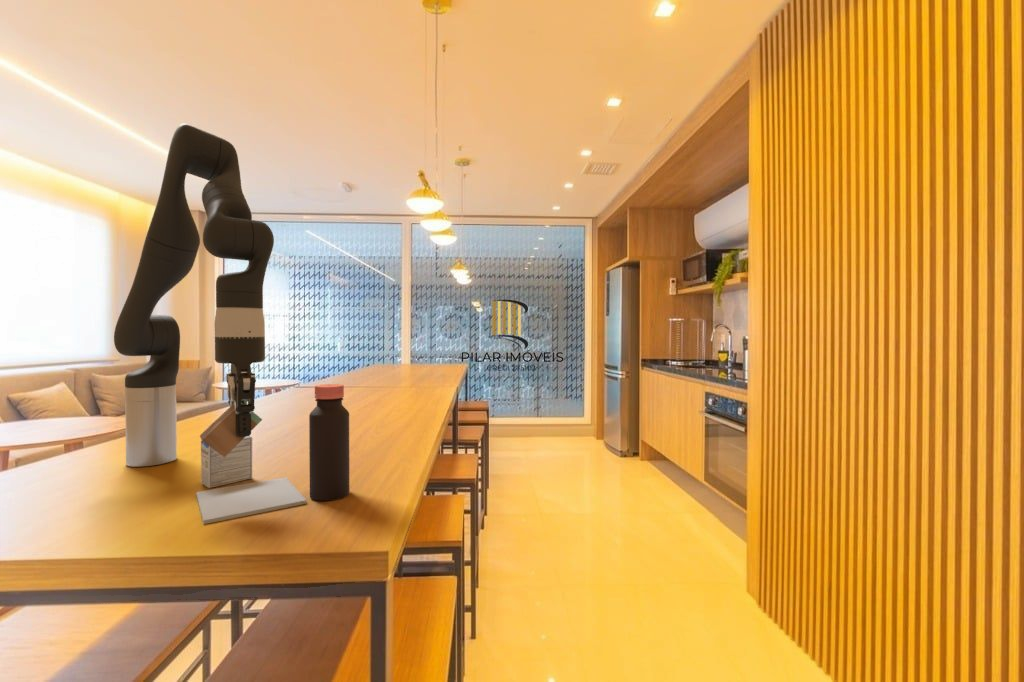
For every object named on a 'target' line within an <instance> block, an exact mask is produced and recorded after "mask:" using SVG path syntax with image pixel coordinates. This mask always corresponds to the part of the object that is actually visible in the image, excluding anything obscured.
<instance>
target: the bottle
mask: <svg viewBox="0 0 1024 682" xmlns="http://www.w3.org/2000/svg"><path fill="white" fill-rule="evenodd" d="M344 388H345V387H344V384H339V383H335V384H334V383H332V384H331V383H329V384H327V383H326V384H318V385H314V399H315V402H316V406H315V407H314V408H313V409H312V410H311V412H309V415H308V417H309V418H308V419H309V422H308V423H309V424H308V425H309V427H308V428H309V430H308V431H309V432H308V433H309V435H308V437H309V442H308V443H309V445H308V446H309V447H308V448H309V452H308V453H309V498H311V499H312V500H314V501H317V502H329V501H335V500H340V499H342V498H344V497H346V496H348V495H349V493H350V412H349V411H348V409H347V408H345V406H344V405H343V401H344V397H345V394H344V393H345V391H344V390H345V389H344Z"/></svg>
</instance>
